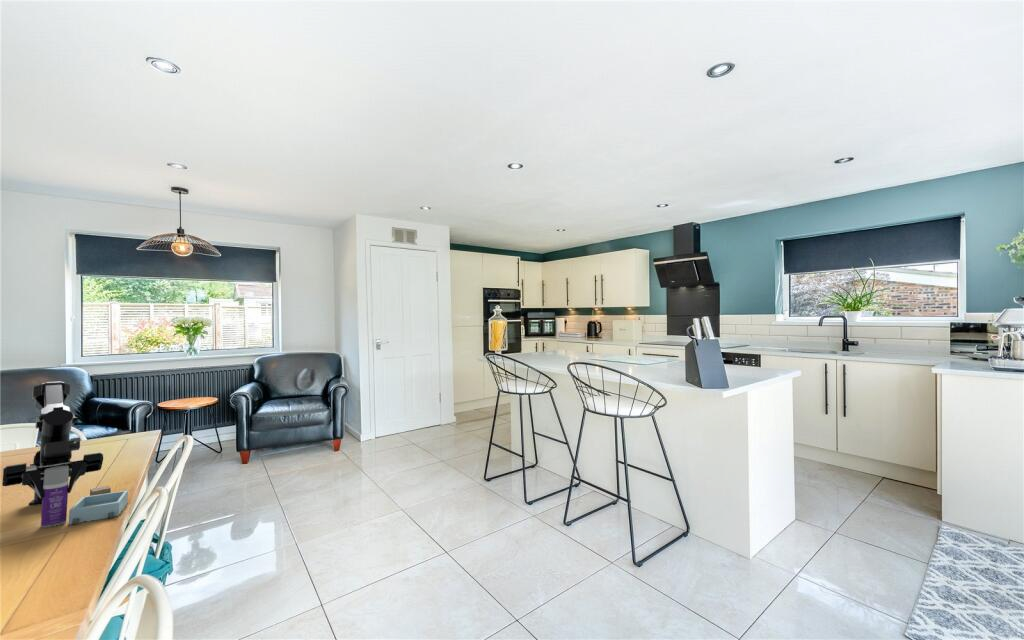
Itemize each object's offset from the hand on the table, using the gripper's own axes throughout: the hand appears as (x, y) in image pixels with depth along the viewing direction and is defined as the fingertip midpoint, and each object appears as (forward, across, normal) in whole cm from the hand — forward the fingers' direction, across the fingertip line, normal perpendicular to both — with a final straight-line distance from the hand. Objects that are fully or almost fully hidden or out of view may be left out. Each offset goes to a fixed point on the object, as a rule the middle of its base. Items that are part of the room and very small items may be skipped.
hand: (55, 494), depth 112 cm
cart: (+4, +9, +7) cm, 12 cm away
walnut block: (-5, +10, +16) cm, 20 cm away
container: (+5, 0, +7) cm, 8 cm away
